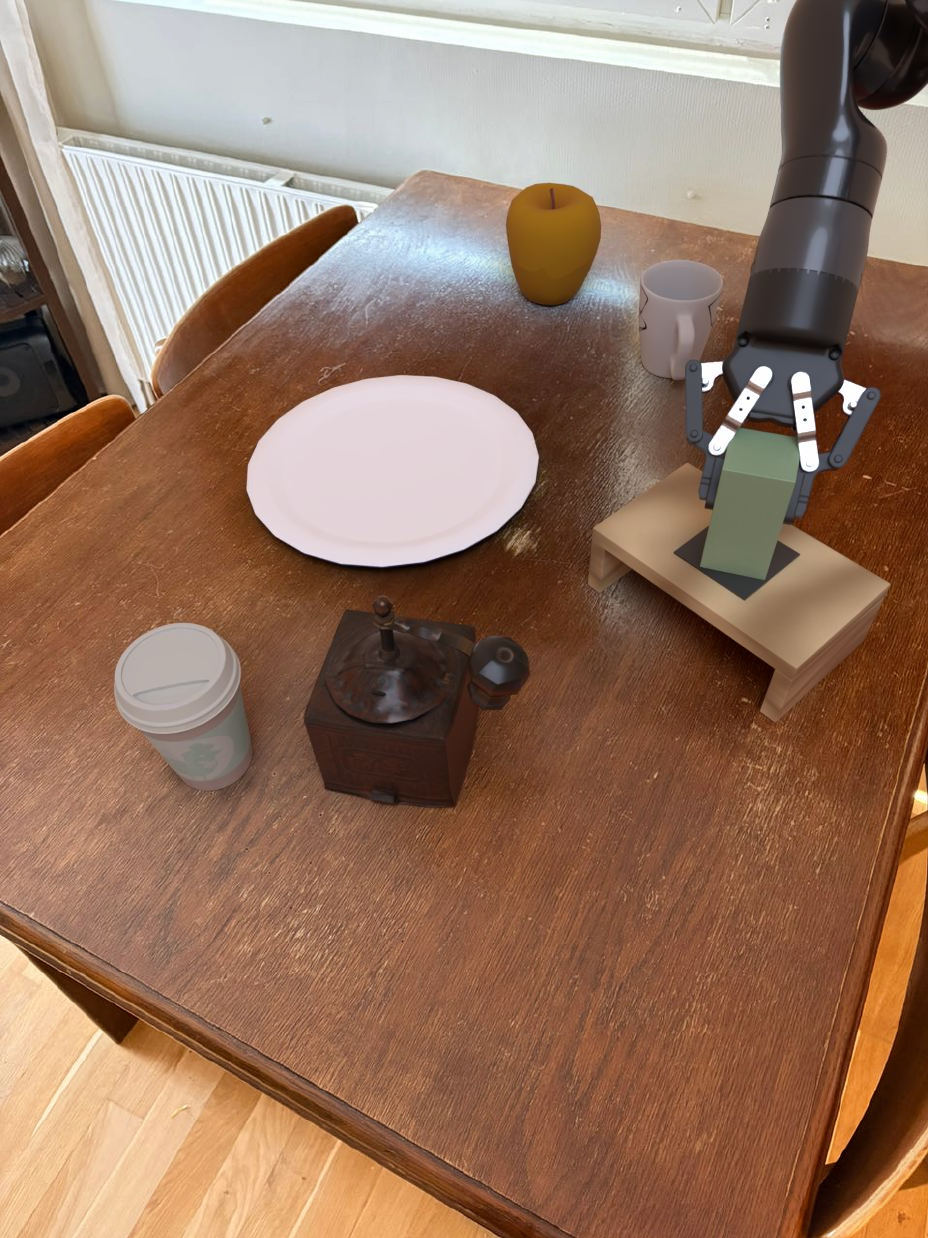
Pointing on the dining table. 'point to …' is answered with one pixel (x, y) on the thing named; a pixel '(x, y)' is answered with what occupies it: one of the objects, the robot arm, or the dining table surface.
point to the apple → (552, 240)
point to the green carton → (751, 502)
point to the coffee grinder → (406, 704)
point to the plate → (392, 471)
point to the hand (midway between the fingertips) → (747, 515)
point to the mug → (676, 314)
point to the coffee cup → (187, 702)
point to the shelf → (744, 586)
